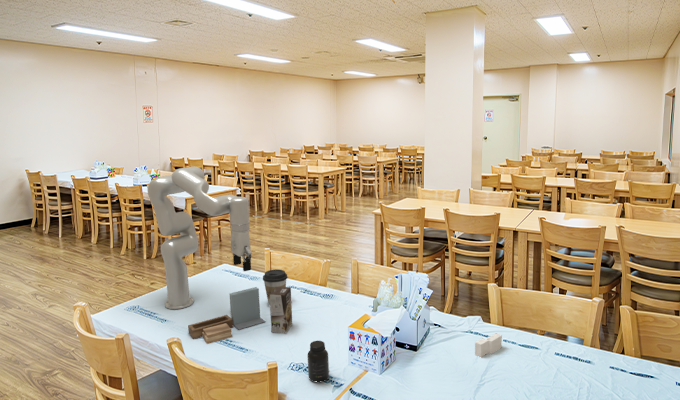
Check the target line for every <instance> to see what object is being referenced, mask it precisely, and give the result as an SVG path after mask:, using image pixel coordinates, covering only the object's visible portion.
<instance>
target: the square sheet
mask: <svg viewBox="0 0 680 400" xmlns="http://www.w3.org/2000/svg"><path fill="white" fill-rule="evenodd" d="M228 294H229V304H230V305H229V307H230V308H229V309H230V318H231V319H232V320H233V325H236V324H239V323H243V322H246V321H250V320H253V319H257V318H260V317H261V304H260V290H259V287H257V286H255V287H251V288H247V289H242V290H239V291H234V292H231V293H230V292H229V293H228Z"/></svg>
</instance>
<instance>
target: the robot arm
mask: <svg viewBox="0 0 680 400" xmlns="http://www.w3.org/2000/svg"><path fill="white" fill-rule="evenodd" d="M205 177H206V176H205V172H204V170H203V169H201V167H198V166H195V165H194V166H186V167H180V168H177V169H175V170H174V171H172V174H169V175H165V176H163V175H162V176H159V177H156V178H153V179H152V180H151V181H150V182H149V183H148V186H147V195H148V199H149V201H150V203H151V204H152V207H153V211H154V214H155V219H156V223H157V226H158V229H159V233H160V234H161V235H162V236H163V237H169V236H170V237H171V236H174V235H177V234H179V236H175V237H171V238H169V239H167V240H165V241H164V242H163V243H162V244H161V246H160V253H161V257H162V260H163V263H164V264H163V265H164V271H165V281H166V290H167V291H166V292H167V293H166V294H167V300H166V302H164V306H165V308H166V309H167V310H168V309H169V310H180V309H185V308H188V307H190V306H192V305H193V304H194V299H193V298H192V297H190V288H189V287H190V286H189V273H188V266H187V264H186V262H185V261H184V259H183V258H184V257H186V256H188V255H192V254H194V253H196V252H197V251H198V249H199V240H198V236H197V232H196V228H195V222H194V220H193V218H192V216H191V215H190V213H188V212H186V211H177V212H176V210H175V206H174V203H173V202H172V200H171V199H170V198H169V197H167V196H170V195H175V194H180V193H187V194H189V195H190V196H192V197H193V200H194V203H195V206H196V207H197V208H198V209H199V210H200V211H201V212H203V213H205V214H207V215H208V216H211V217H219V216H221V215H225V214H229V221H230V222H229V223H230V232H231V233H230V251H231V253H232V257H233V259H232V260H233V262H232V263H233V265H234V266H237V265H241V264H242V271H243V272H248V271H251V270H252V263H251V262H252V251H251V250H252V249H251V240H250V233H249V232H250V230H251V229H250V207H249V200H248V198H247V197H244V196H236V195H235V194H234V195H233V194H224V195H219V196H215V197H211V196H210V195H208V192H209V189H210V185H209V182H208V181H207V180H206V179H205ZM242 260H243V261H242Z"/></svg>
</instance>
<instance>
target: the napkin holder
mask: <svg viewBox="0 0 680 400" xmlns="http://www.w3.org/2000/svg"><path fill="white" fill-rule="evenodd" d="M502 337H503V335H502V334H499V333H494V334H492V335H490V336H489V337H487V338H483V337H481V338H480V339H479V340H476V341H475V342H474V355H475V356H476V357H478V356H479V357H478V358H480V357H481V358H482V357H484V356H486V355H487V354H489V355H492V354H493V353H495V352H497V351H499V350H500V349H501V348H502ZM485 354H486V355H485Z"/></svg>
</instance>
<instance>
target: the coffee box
mask: <svg viewBox="0 0 680 400" xmlns="http://www.w3.org/2000/svg"><path fill="white" fill-rule="evenodd" d="M292 305H293V304H292V288H291V287H290V286H286V287H276V288H275V289H274V290H273V291H272V292H271V294H270V305H269V308H270V309H269V311H270V332H271V333H277V334H278V333H279V334H286V333H287V332H288V330H289V329H290V328H291V326H293V310H292V308H293V307H292Z"/></svg>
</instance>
